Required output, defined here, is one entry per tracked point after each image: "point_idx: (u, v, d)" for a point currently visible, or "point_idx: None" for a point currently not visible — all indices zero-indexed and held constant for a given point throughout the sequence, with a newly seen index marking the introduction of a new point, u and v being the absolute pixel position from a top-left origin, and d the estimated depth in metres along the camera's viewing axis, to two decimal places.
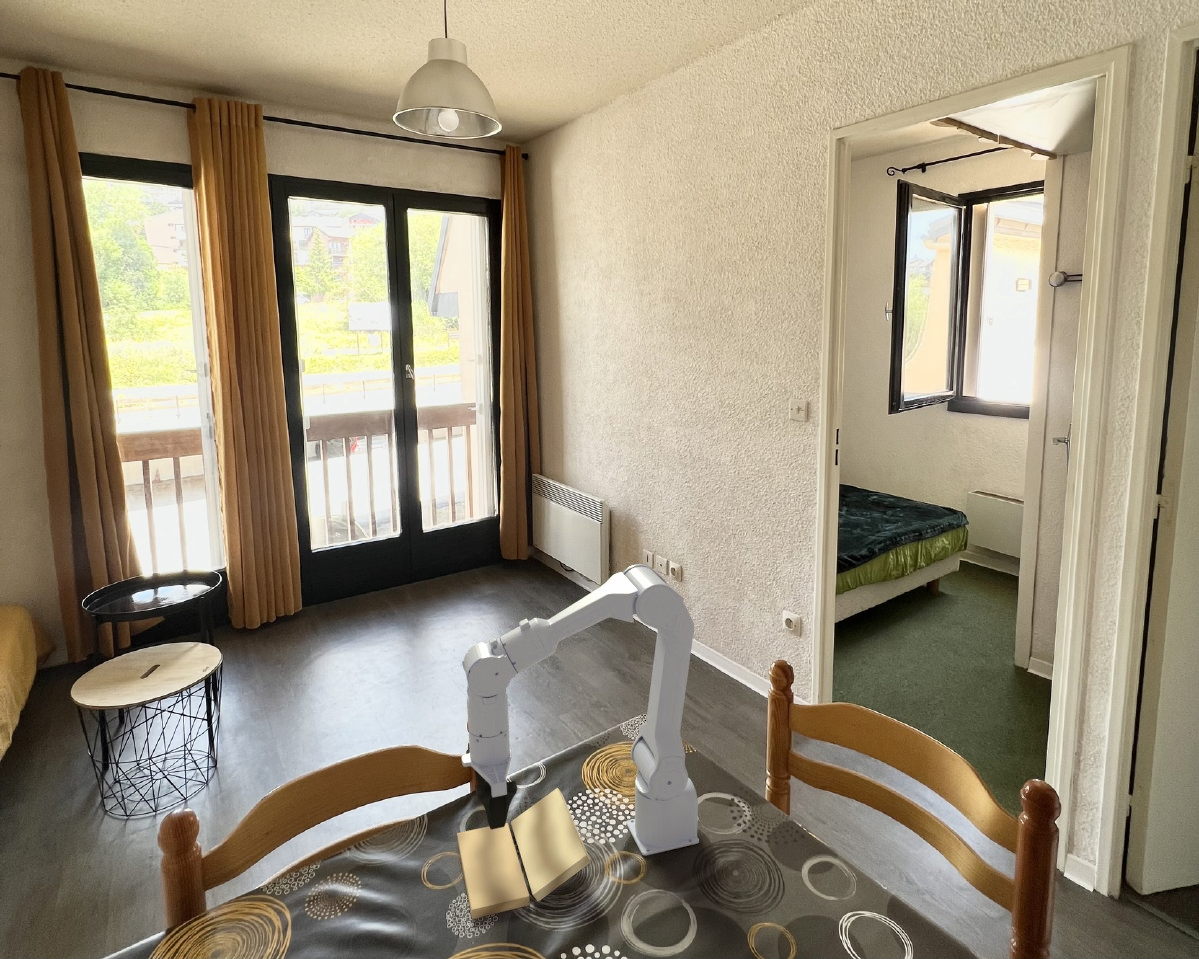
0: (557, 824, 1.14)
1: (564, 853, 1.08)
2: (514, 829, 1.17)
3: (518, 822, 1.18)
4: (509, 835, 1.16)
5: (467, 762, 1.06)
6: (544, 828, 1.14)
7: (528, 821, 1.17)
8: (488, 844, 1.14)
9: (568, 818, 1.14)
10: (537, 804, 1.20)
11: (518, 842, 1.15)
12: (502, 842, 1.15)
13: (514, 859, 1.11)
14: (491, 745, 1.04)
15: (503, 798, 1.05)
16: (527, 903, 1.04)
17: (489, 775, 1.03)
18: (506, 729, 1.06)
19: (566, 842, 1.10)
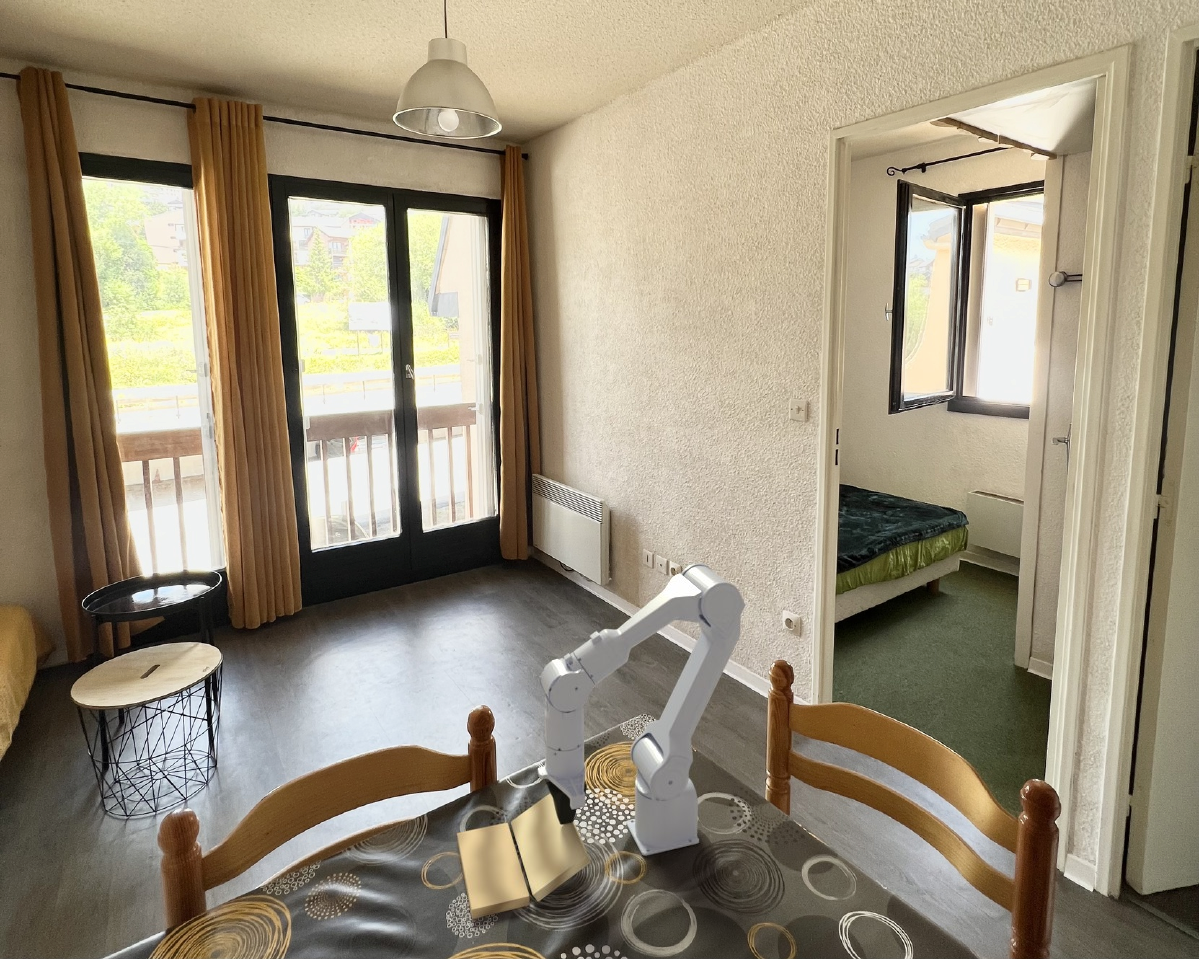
0: (557, 824, 1.14)
1: (564, 853, 1.08)
2: (514, 829, 1.17)
3: (518, 822, 1.18)
4: (509, 835, 1.16)
5: (544, 774, 1.09)
6: (544, 828, 1.14)
7: (528, 821, 1.17)
8: (488, 844, 1.14)
9: None
10: (537, 804, 1.20)
11: (518, 842, 1.15)
12: (502, 842, 1.15)
13: (514, 859, 1.11)
14: (568, 759, 1.07)
15: None
16: (527, 903, 1.04)
17: (567, 788, 1.06)
18: (582, 743, 1.09)
19: (566, 842, 1.10)
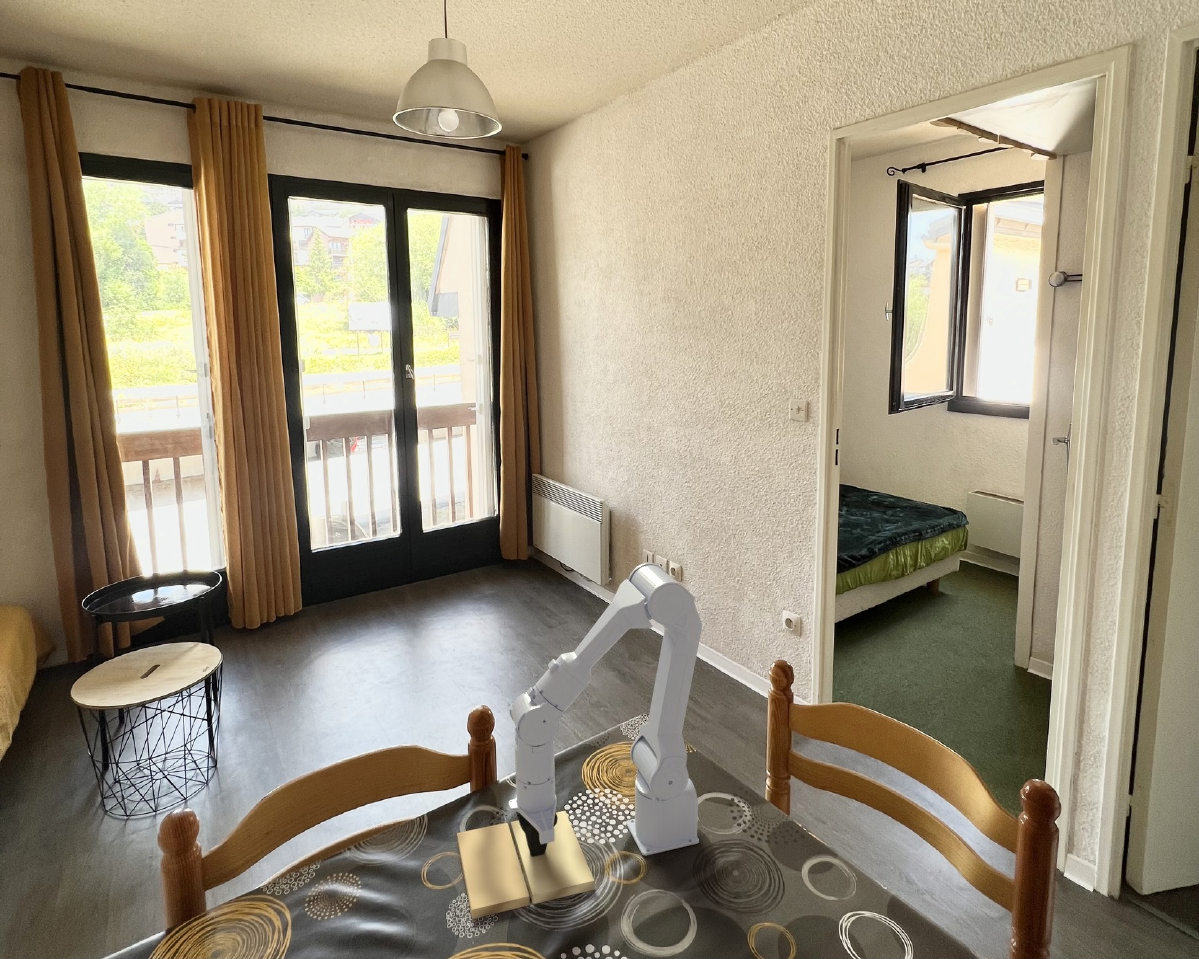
0: (563, 842, 1.15)
1: (570, 870, 1.09)
2: (515, 829, 1.17)
3: None
4: (509, 835, 1.16)
5: (515, 807, 1.09)
6: None
7: None
8: (488, 844, 1.14)
9: (575, 841, 1.15)
10: None
11: (518, 843, 1.15)
12: (502, 842, 1.15)
13: (514, 859, 1.11)
14: (538, 792, 1.07)
15: None
16: (527, 903, 1.04)
17: (537, 821, 1.06)
18: (553, 776, 1.09)
19: (572, 861, 1.11)
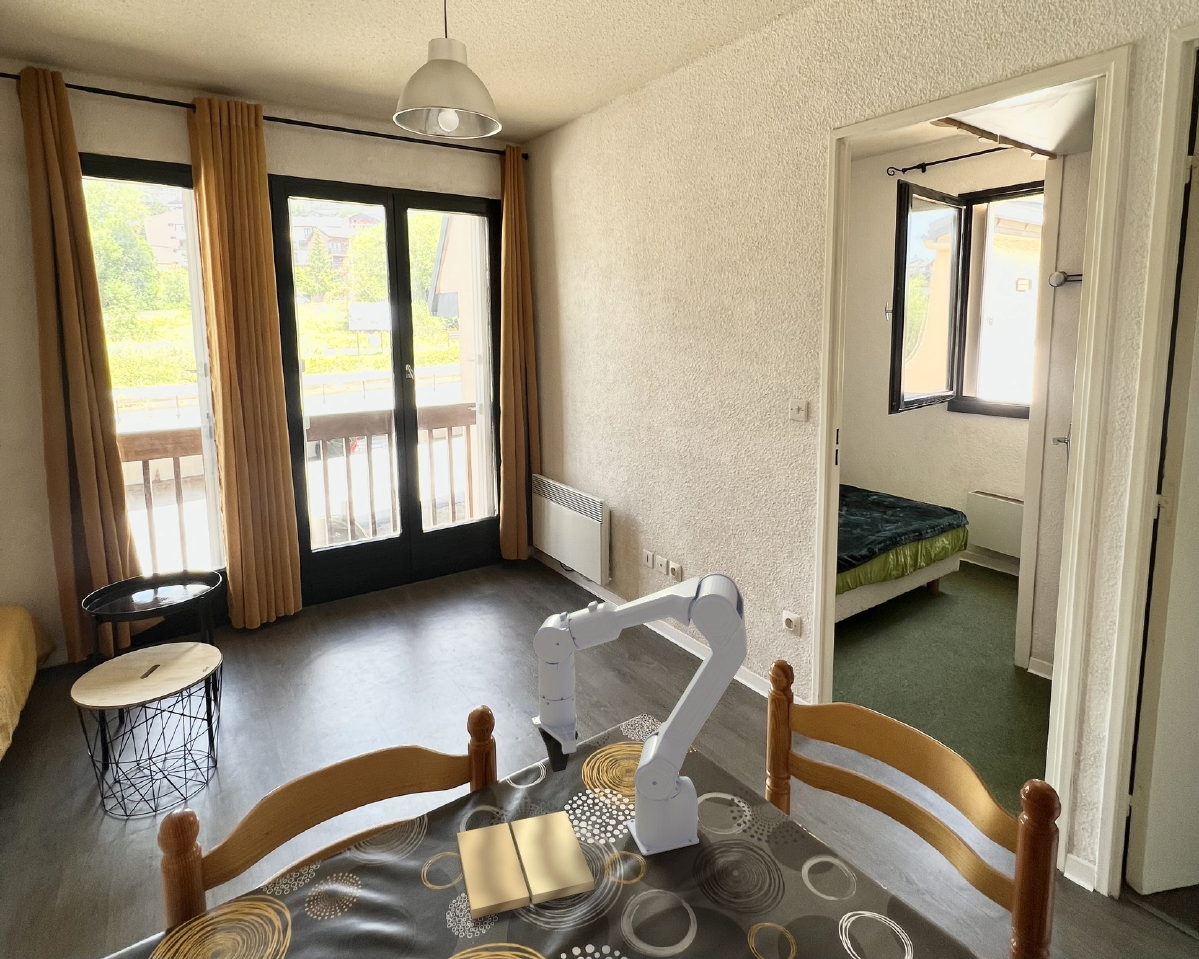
0: (563, 842, 1.15)
1: (570, 870, 1.09)
2: (515, 829, 1.17)
3: (520, 825, 1.18)
4: (509, 835, 1.16)
5: (538, 723, 1.16)
6: (548, 841, 1.15)
7: (531, 828, 1.18)
8: (488, 844, 1.14)
9: (575, 841, 1.15)
10: (541, 817, 1.20)
11: (518, 843, 1.15)
12: (502, 842, 1.15)
13: (514, 859, 1.11)
14: (560, 708, 1.14)
15: None
16: (527, 903, 1.04)
17: (559, 734, 1.13)
18: (574, 694, 1.16)
19: (572, 861, 1.11)
